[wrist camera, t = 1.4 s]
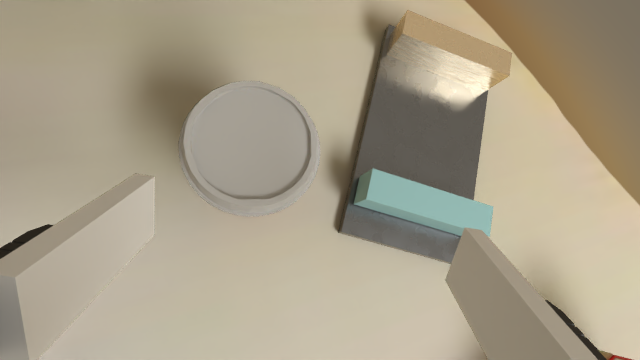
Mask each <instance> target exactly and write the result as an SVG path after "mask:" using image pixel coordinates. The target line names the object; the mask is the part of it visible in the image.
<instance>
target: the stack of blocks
mask: <svg viewBox="0 0 640 360" xmlns="http://www.w3.org/2000/svg"><path fill="white" fill-rule="evenodd" d="M599 352H600V353H601V354H602V355H603V356H604V357H605V358H606V359H607V360H632V359H628V358H624V357H620V356H616V355H613V354H611V353H607V352H604V351H600V350H599Z"/></svg>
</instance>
